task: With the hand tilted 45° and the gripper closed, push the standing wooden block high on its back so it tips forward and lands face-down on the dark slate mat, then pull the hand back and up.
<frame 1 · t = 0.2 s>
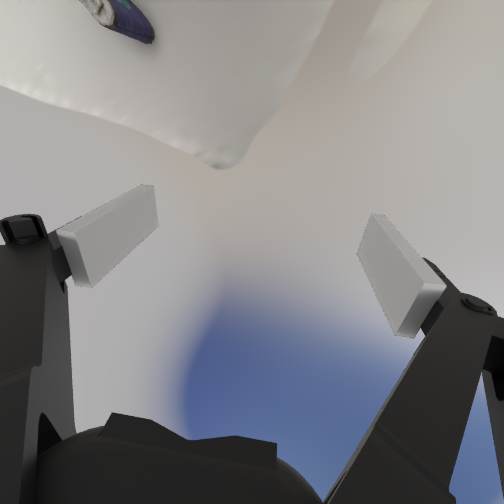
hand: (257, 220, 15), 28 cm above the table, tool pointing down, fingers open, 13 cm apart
flask: (125, 12, 33), on the table
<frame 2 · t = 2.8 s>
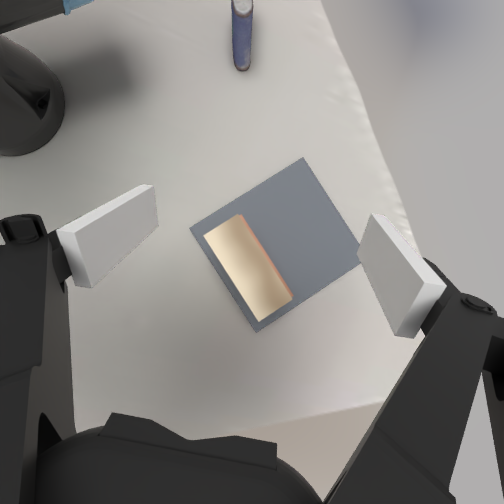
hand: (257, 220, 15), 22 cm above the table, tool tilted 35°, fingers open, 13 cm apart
mat: (279, 243, 37), on the table
wooden block: (245, 265, 36), resting on mat
flask: (242, 43, 38), on the table
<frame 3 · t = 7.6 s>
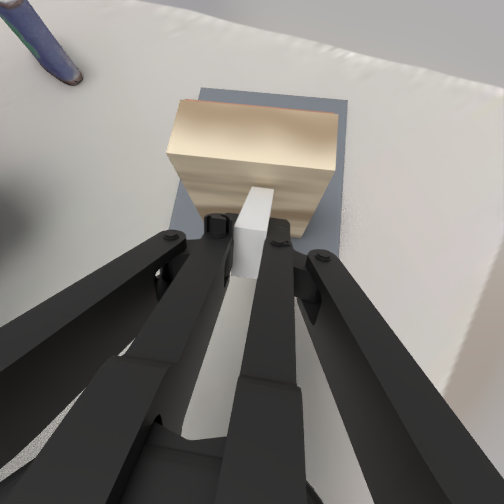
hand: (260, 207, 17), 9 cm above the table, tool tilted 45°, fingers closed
mat: (262, 168, 29), on the table
wooden block: (255, 215, 27), point 1 cm above the table, touching gripper, mat
flask: (59, 67, 33), on the table
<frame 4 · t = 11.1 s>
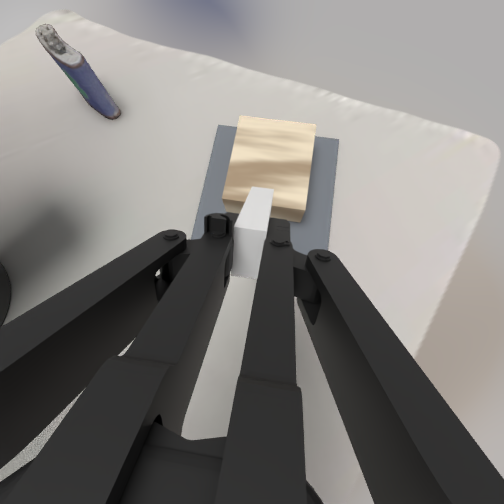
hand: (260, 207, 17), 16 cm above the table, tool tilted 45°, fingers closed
mat: (267, 194, 35), on the table
wooden block: (262, 211, 31), point 3 cm above the table, tilted 90°, touching mat
flask: (100, 103, 40), on the table
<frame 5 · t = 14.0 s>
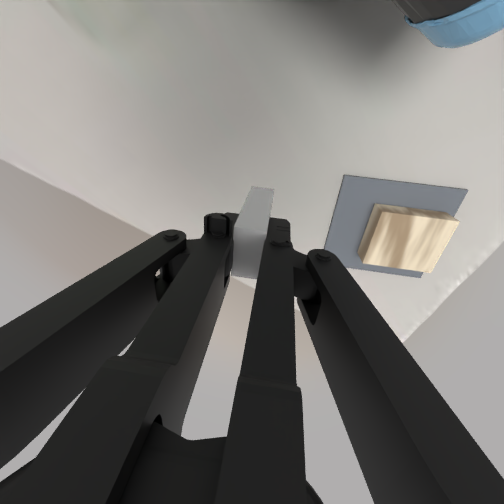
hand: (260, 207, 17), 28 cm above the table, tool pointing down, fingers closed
mat: (385, 230, 46), on the table
wooden block: (368, 233, 44), point 3 cm above the table, tilted 90°, touching mat
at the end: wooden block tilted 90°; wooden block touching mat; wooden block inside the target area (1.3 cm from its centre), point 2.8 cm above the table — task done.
